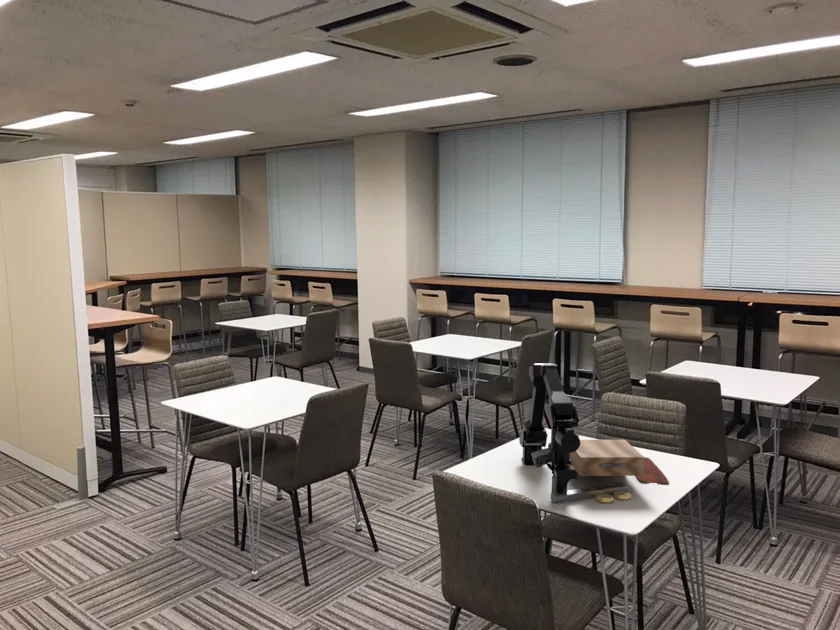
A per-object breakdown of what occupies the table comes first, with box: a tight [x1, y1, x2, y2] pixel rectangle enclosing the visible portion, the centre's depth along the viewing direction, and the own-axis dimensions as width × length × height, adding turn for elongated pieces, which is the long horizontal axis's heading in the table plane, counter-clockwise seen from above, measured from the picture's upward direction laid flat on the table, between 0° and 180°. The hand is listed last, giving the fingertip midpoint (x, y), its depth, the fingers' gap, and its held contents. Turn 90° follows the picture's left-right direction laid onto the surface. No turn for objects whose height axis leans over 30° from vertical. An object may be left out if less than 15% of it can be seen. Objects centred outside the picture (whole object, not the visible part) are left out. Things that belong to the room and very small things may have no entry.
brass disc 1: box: [595, 494, 614, 505], centre depth 201 cm, size 5×5×2 cm
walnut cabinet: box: [567, 439, 645, 477], centre depth 214 cm, size 20×19×12 cm
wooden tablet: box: [635, 456, 670, 485], centre depth 228 cm, size 27×10×2 cm, turn 173°
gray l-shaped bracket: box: [550, 475, 629, 505], centre depth 203 cm, size 26×3×8 cm, turn 110°
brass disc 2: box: [613, 491, 632, 502], centre depth 203 cm, size 5×5×2 cm
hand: (558, 491), depth 200 cm, fingers closed on gray l-shaped bracket, 3 cm apart
